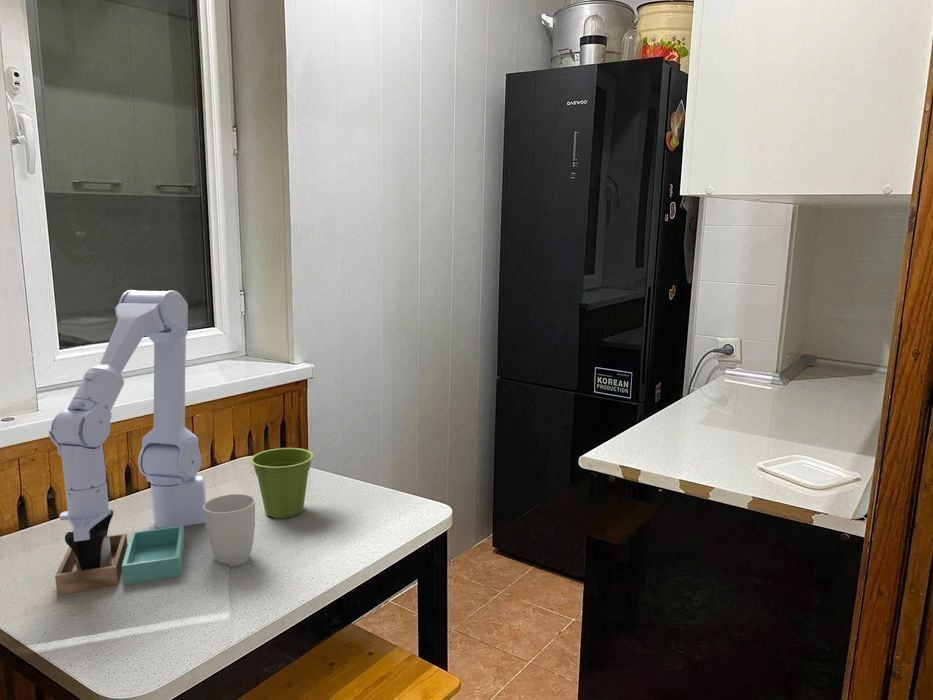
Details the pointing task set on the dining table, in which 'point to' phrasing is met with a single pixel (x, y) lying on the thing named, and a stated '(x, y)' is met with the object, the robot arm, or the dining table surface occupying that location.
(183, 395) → the robot arm
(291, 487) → the plant pot
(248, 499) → the cup
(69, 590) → the walnut bin
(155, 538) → the teal bin
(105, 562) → the white rounded cube
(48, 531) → the dining table surface
